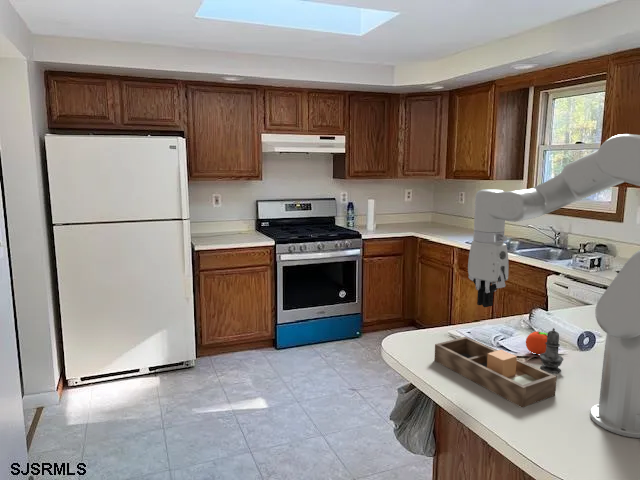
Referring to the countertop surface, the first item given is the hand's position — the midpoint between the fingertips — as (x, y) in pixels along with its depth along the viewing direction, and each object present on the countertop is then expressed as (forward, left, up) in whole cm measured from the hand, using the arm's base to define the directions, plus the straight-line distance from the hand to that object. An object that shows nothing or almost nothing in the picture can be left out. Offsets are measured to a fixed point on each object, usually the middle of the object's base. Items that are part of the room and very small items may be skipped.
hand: (484, 305), depth 126 cm
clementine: (0, -24, -19) cm, 31 cm away
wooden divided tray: (-3, 0, -19) cm, 19 cm away
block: (-6, 0, -17) cm, 18 cm away
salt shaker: (-8, -18, -19) cm, 28 cm away
